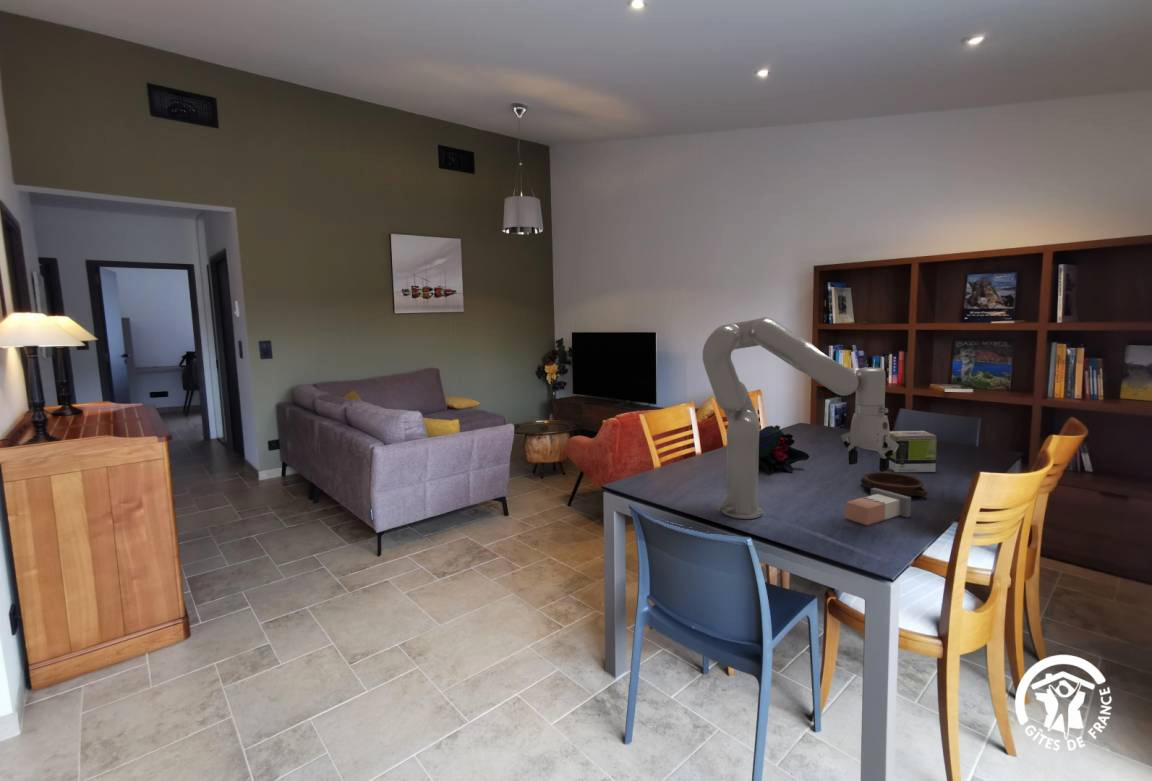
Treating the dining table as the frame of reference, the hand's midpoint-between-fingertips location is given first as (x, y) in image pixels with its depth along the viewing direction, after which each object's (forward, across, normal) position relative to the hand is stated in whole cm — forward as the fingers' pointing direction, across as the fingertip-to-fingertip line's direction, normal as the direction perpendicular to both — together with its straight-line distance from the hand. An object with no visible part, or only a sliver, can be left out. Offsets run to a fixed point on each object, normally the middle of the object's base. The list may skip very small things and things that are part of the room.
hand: (868, 467), depth 168 cm
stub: (+16, 0, 0) cm, 16 cm away
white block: (+17, 0, -10) cm, 20 cm away
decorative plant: (+17, +54, -23) cm, 61 cm away
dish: (+18, +13, -34) cm, 41 cm away
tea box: (+18, +26, -66) cm, 73 cm away
